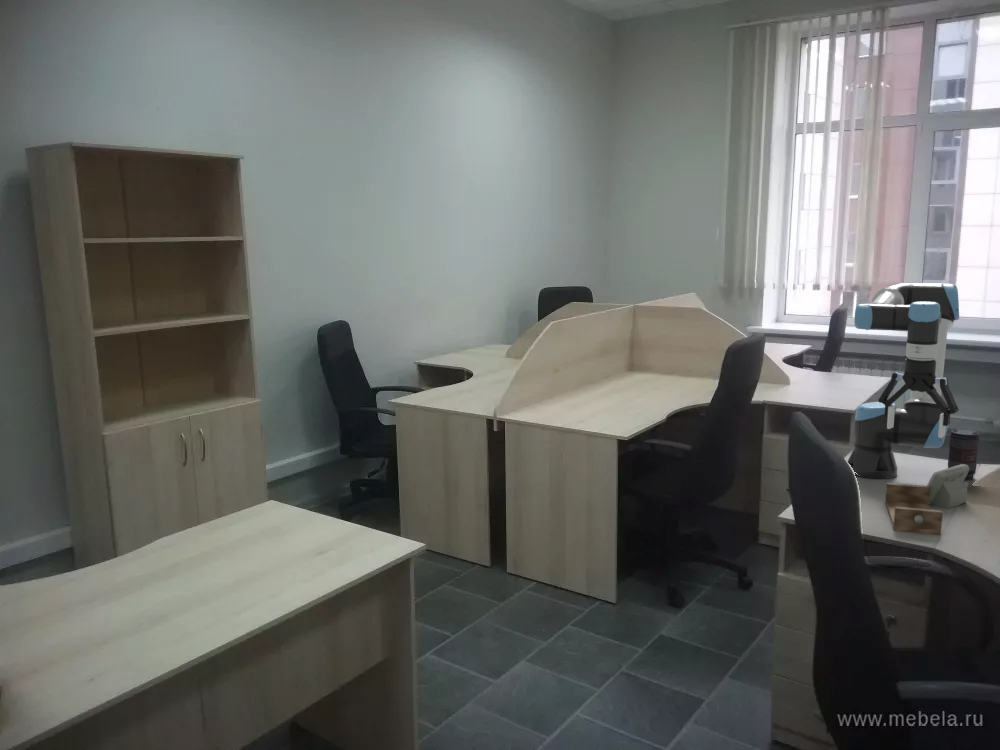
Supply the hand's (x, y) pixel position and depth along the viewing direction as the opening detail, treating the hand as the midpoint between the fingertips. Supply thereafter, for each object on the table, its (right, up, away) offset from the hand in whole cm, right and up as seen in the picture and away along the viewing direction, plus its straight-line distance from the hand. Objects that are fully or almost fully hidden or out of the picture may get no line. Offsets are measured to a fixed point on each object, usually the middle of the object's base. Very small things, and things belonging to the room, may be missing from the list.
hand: (915, 432), depth 216 cm
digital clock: (+13, -21, +10) cm, 27 cm away
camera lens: (+31, -17, +31) cm, 47 cm away
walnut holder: (-3, -24, -3) cm, 24 cm away
